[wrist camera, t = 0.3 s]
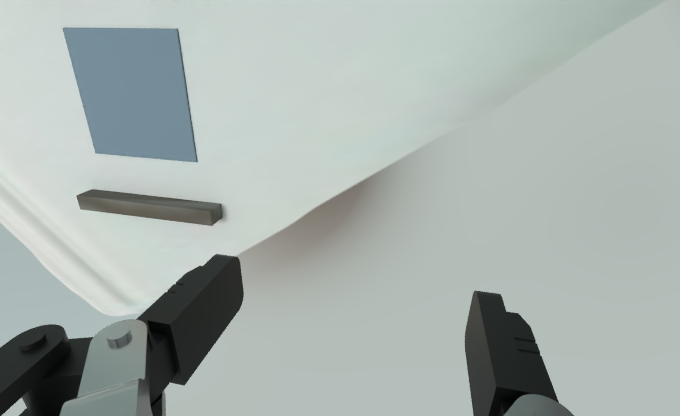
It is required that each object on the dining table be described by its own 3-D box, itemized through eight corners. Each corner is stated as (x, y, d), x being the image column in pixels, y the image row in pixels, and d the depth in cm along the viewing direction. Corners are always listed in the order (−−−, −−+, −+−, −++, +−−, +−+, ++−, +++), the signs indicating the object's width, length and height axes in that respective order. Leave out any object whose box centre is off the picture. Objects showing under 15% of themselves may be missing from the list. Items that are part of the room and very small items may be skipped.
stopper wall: (91, 189, 50) (76, 195, 48) (220, 203, 47) (209, 211, 44) (95, 202, 51) (80, 209, 49) (222, 217, 47) (211, 225, 45)
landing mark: (64, 27, 42) (62, 27, 41) (177, 28, 39) (176, 28, 39) (96, 152, 48) (95, 153, 48) (197, 161, 45) (196, 162, 45)
